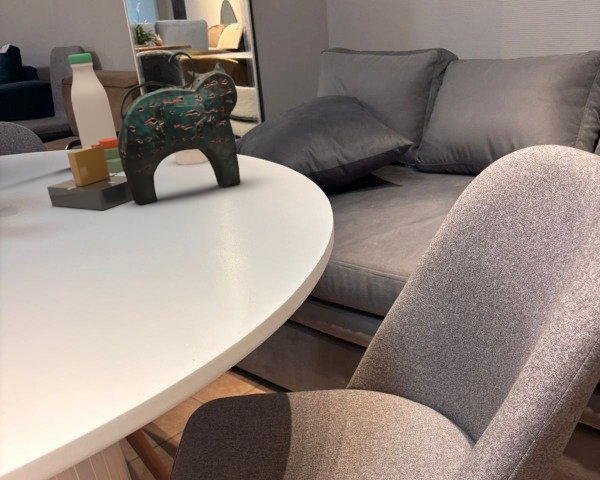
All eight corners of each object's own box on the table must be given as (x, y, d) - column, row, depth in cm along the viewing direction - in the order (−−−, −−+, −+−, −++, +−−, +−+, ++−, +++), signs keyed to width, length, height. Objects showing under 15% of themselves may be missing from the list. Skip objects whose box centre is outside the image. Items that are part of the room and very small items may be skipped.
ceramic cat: (239, 178, 110) (222, 46, 99) (255, 184, 105) (238, 45, 94) (126, 201, 102) (95, 60, 92) (137, 209, 97) (106, 61, 87)
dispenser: (82, 171, 128) (76, 150, 125) (111, 162, 133) (106, 142, 131) (117, 173, 123) (112, 151, 121) (146, 164, 128) (142, 143, 126)
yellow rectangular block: (82, 186, 100) (73, 151, 98) (75, 185, 101) (66, 151, 98) (110, 177, 105) (102, 143, 102) (103, 177, 105) (95, 143, 103)
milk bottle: (125, 154, 141) (103, 51, 130) (91, 161, 137) (66, 56, 127) (113, 150, 146) (91, 52, 136) (80, 157, 143) (55, 56, 133)
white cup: (169, 161, 129) (159, 107, 124) (206, 155, 131) (198, 102, 126) (178, 167, 122) (168, 111, 117) (217, 161, 125) (209, 105, 120)
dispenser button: (96, 150, 126) (94, 141, 125) (110, 147, 128) (108, 137, 127) (109, 151, 124) (107, 141, 123) (122, 147, 126) (120, 137, 126)
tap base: (49, 206, 104) (43, 186, 102) (96, 191, 111) (91, 172, 109) (100, 211, 98) (94, 190, 96) (146, 194, 105) (142, 175, 103)
